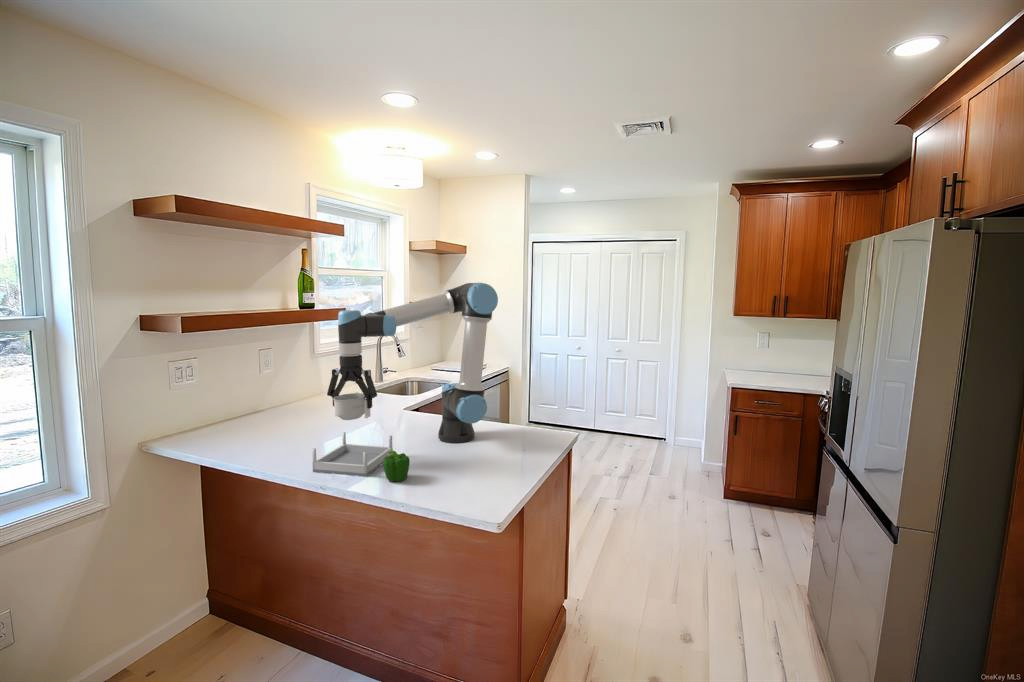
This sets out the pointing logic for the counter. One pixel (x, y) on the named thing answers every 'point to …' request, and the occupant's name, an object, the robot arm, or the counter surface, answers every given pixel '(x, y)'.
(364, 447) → the dish rack
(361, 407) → the teacup
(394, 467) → the bell pepper
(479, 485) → the counter surface
